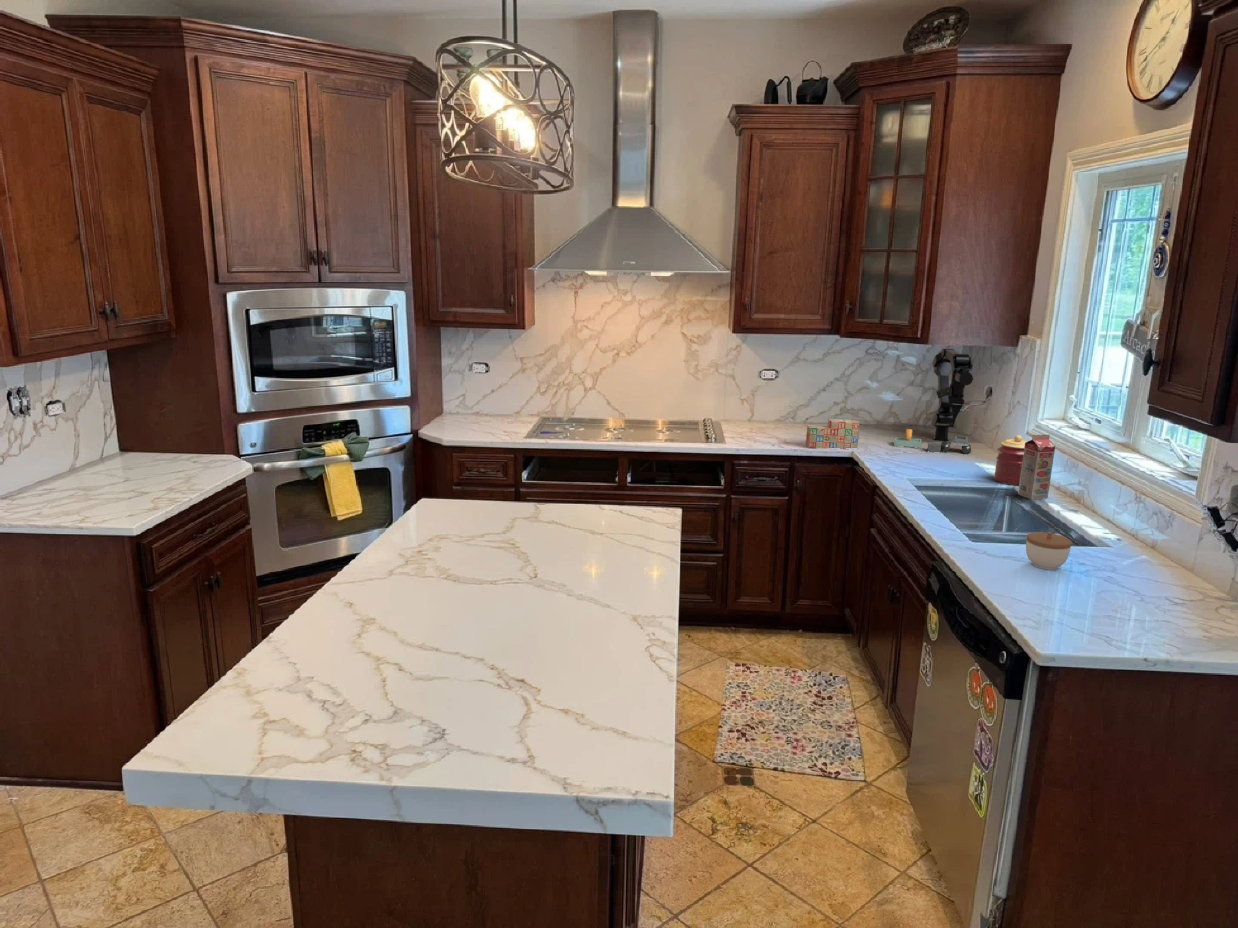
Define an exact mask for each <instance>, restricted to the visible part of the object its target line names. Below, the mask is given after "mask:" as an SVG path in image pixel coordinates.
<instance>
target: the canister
mask: <svg viewBox="0 0 1238 928" xmlns="http://www.w3.org/2000/svg"><path fill="white" fill-rule="evenodd" d="M1028 441H1029V440H1025V439H1023V437H1022V436H1021V435H1020V434H1019V435H1018V434H1017V435H1016V436H1014V438H1011V439H1010V438H1009V439H1005V440H1004V441H1000V445H1001V446H1000V447H998V448H997V451H998V455H997V456H996V458H995V459H996V463H995V471H994V473H993V474H994V475H993V476H994V480H995V481H996V482H999V483H1001V484H1004V485H1011V486H1019V483H1020V476H1021V469H1022V462H1023V454H1024V447H1025V443H1026V442H1028Z"/></svg>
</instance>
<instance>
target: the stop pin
mask: <svg viewBox="0 0 1238 928" xmlns="http://www.w3.org/2000/svg"><path fill="white" fill-rule="evenodd" d="M912 437H913V429H912V428H906V429H905V437H904V438H905V440H906V441H911V438H912Z"/></svg>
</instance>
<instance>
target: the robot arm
mask: <svg viewBox="0 0 1238 928" xmlns="http://www.w3.org/2000/svg"><path fill="white" fill-rule="evenodd" d="M932 367H933V373H934V374H935V375H936V377H937V387H938V388H937V390H936V391H935V392H936V395H937V398H938V408H937V409H936V410H935V414H934V416H933V418H932V421H931V425H932V426H933V427H934V428H935V432H934V436H933V440H935V441H948V442H950V441H949V440H950V437H949V431H950V428H954V426H955V422H956V419H957V417H958V415H959V414H960V412H961V411H962V408H963V407H964V405H965V399H964V396H965V388H966V386H969V385H971V384H972V383H973V380H974V377H973V374H972V373H970V371H972V370H973V361H972V358H971V356H970V354H969V353H960V352H958V351H956V350H955V349H954V348H943V349H941V351H940V352H939V353H937V354H936V355H935V356H934V358H933V360H932ZM950 373H951V377H950V378H951V380H950V379H949V376H950Z"/></svg>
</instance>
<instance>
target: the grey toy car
mask: <svg viewBox="0 0 1238 928" xmlns="http://www.w3.org/2000/svg"><path fill="white" fill-rule="evenodd" d="M940 443H941V450H940V451H941V452H942V453H948V452H949V451H950V450H951V448H950V446H961V452H962V453H963V454H964V455H969V454H971V452H972V447H971V444H970V443H969V437H968V436H967V437H966V436H956V435H955V436H954V438H950V441H945V440H942V441H941V442H940Z"/></svg>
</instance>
